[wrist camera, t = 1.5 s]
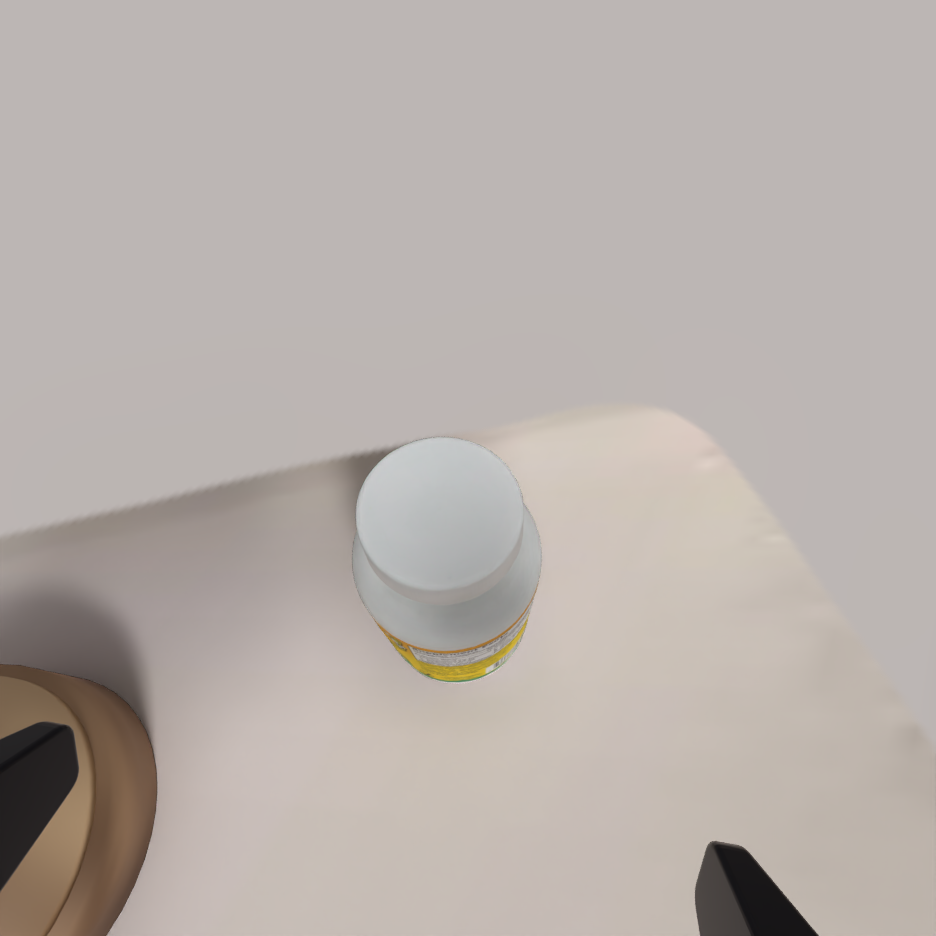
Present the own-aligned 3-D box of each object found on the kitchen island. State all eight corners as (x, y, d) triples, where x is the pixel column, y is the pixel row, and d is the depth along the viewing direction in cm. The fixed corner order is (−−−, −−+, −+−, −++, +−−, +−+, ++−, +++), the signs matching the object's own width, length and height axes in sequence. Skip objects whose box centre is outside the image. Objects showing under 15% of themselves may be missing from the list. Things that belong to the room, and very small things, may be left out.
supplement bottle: (532, 681, 19) (570, 618, 11) (386, 689, 19) (313, 633, 11) (518, 543, 22) (540, 407, 14) (389, 550, 22) (333, 419, 14)
